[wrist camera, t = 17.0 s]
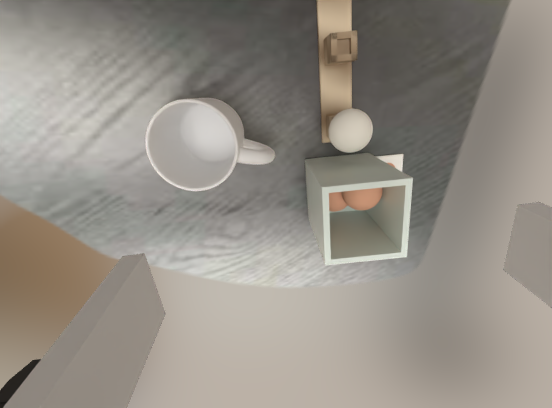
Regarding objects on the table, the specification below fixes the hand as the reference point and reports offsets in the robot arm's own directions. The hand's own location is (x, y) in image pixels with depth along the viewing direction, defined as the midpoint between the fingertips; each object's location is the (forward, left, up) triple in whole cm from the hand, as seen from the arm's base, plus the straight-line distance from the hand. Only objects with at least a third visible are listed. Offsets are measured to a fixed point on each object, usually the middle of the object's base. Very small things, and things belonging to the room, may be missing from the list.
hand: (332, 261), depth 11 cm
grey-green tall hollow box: (+7, +7, -28) cm, 29 cm away
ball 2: (-1, +7, -24) cm, 24 cm away
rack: (-9, +7, -28) cm, 30 cm away
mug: (-1, -7, -28) cm, 29 cm away
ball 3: (+6, +6, -21) cm, 23 cm away
